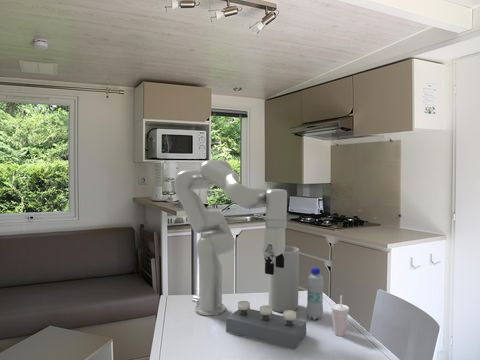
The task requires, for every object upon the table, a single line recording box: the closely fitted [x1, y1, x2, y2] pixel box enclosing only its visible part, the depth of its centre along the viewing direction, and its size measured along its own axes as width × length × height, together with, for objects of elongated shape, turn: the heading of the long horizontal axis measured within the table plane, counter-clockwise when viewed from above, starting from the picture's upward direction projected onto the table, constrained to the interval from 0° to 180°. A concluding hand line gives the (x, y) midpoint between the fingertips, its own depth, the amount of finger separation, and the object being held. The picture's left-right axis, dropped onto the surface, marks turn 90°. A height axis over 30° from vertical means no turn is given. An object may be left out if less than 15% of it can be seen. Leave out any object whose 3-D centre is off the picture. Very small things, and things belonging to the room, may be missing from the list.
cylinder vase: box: [268, 245, 300, 313], centre depth 157 cm, size 12×12×25 cm
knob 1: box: [237, 300, 251, 316], centre depth 137 cm, size 4×4×6 cm
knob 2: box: [282, 310, 297, 327], centre depth 128 cm, size 4×4×6 cm
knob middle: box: [259, 304, 273, 321], centre depth 132 cm, size 4×4×6 cm
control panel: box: [225, 308, 307, 350], centre depth 132 cm, size 26×12×5 cm, turn 61°
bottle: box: [306, 267, 325, 321], centre depth 146 cm, size 7×7×20 cm
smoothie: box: [330, 295, 350, 337], centre depth 133 cm, size 6×6×14 cm
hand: (274, 270), depth 134 cm, fingers open, 9 cm apart
